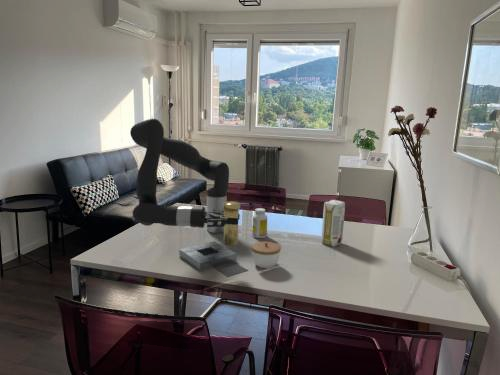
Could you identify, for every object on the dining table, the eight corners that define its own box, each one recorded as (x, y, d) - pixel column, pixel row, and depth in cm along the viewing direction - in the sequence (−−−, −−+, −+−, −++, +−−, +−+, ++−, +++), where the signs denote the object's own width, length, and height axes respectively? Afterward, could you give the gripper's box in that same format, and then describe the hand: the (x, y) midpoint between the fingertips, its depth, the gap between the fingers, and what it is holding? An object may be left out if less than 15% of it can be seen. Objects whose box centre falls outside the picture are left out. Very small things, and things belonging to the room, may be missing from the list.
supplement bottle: (268, 235, 177) (269, 208, 174) (264, 239, 170) (265, 212, 168) (254, 233, 179) (255, 206, 176) (250, 237, 173) (251, 210, 170)
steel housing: (214, 249, 157) (214, 241, 157) (236, 262, 145) (236, 253, 144) (179, 257, 148) (179, 249, 147) (200, 272, 135) (200, 263, 135)
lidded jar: (270, 274, 135) (272, 250, 133) (245, 267, 141) (246, 243, 139) (284, 264, 144) (285, 241, 142) (260, 258, 150) (261, 235, 148)
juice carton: (343, 243, 168) (347, 202, 164) (333, 248, 162) (337, 205, 158) (329, 238, 173) (332, 198, 169) (318, 243, 167) (321, 202, 163)
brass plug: (232, 238, 139) (233, 200, 136) (242, 243, 135) (243, 204, 132) (219, 241, 136) (219, 202, 133) (228, 247, 131) (229, 206, 128)
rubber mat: (233, 263, 144) (234, 261, 144) (248, 271, 137) (248, 270, 137) (213, 269, 138) (213, 267, 138) (227, 278, 131) (227, 276, 131)
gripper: (186, 212, 126) (237, 214, 125) (195, 201, 140) (240, 203, 139) (186, 233, 128) (237, 235, 127) (194, 220, 142) (240, 223, 141)
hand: (238, 219), depth 133 cm, fingers closed on brass plug, 5 cm apart
